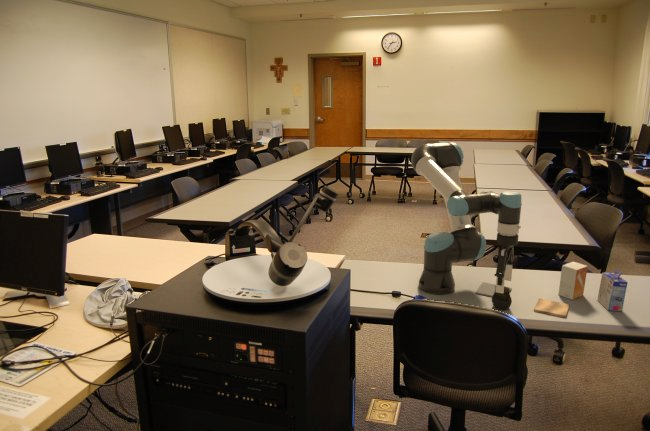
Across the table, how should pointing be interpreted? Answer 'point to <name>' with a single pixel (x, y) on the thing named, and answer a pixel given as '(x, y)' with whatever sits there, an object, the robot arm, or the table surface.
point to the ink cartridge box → (612, 291)
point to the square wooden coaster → (552, 307)
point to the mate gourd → (502, 299)
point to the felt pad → (487, 289)
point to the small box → (572, 280)
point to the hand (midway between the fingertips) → (503, 286)
